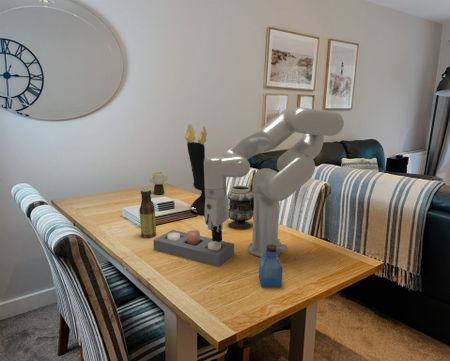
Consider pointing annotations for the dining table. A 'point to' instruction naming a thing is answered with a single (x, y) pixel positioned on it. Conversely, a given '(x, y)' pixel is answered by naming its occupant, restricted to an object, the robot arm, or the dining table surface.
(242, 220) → the apothecary jar
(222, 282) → the dining table surface
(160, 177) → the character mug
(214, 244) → the near knob
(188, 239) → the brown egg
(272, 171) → the robot arm
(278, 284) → the perfume bottle
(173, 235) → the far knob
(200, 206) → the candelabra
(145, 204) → the sauce bottle
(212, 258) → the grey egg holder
